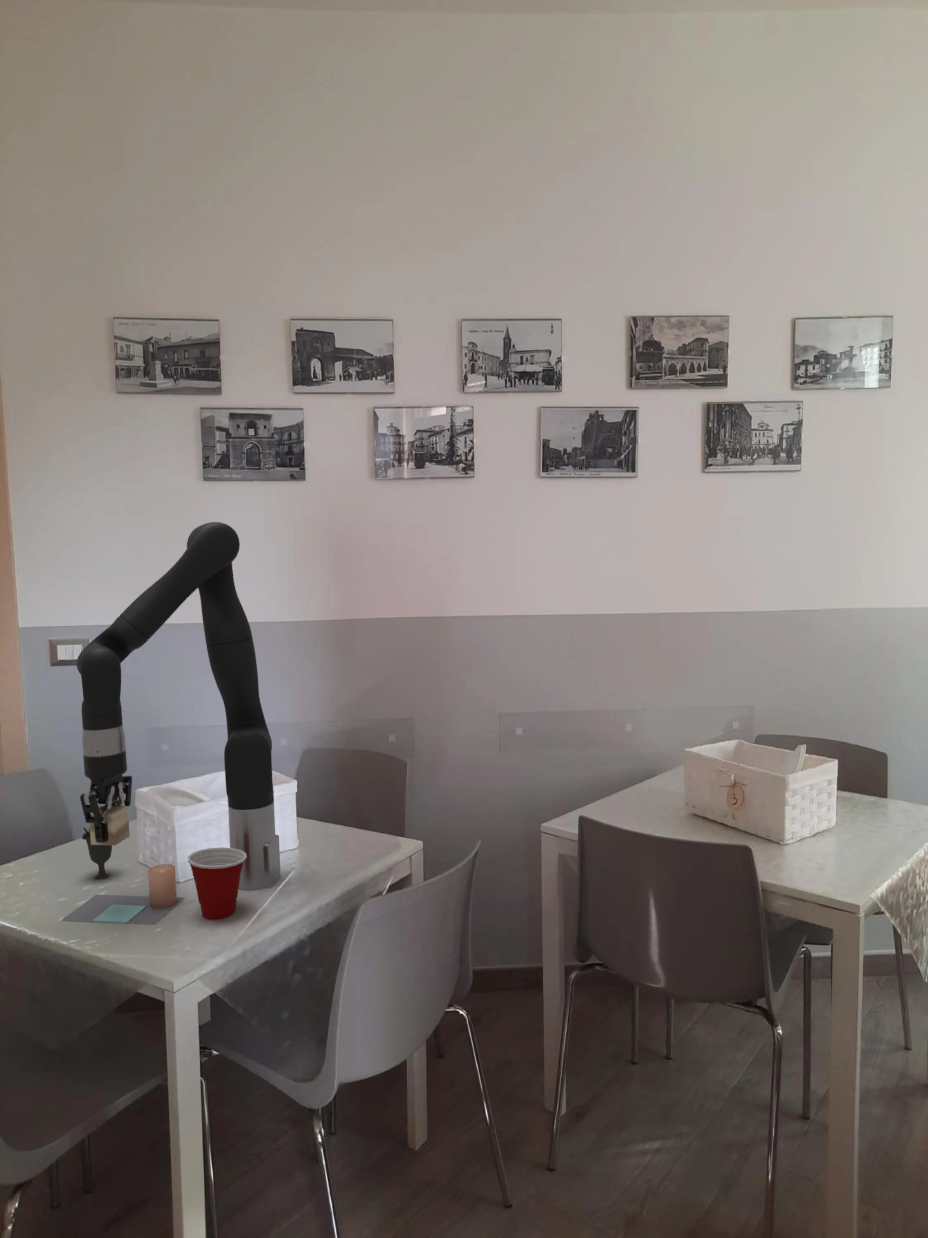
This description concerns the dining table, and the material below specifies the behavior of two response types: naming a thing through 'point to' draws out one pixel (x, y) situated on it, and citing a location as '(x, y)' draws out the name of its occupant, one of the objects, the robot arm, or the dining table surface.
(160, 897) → the terracotta cylinder
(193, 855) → the plastic cup
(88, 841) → the sundae
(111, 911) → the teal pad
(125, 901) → the slate mat
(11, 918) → the dining table surface
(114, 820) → the beech block
